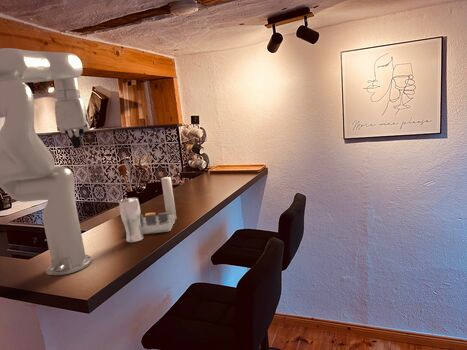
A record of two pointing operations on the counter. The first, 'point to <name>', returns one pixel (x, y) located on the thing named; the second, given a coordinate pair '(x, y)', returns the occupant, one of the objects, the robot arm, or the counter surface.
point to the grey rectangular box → (163, 216)
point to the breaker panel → (157, 225)
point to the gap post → (168, 196)
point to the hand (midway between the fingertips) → (78, 147)
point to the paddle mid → (150, 217)
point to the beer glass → (131, 219)
